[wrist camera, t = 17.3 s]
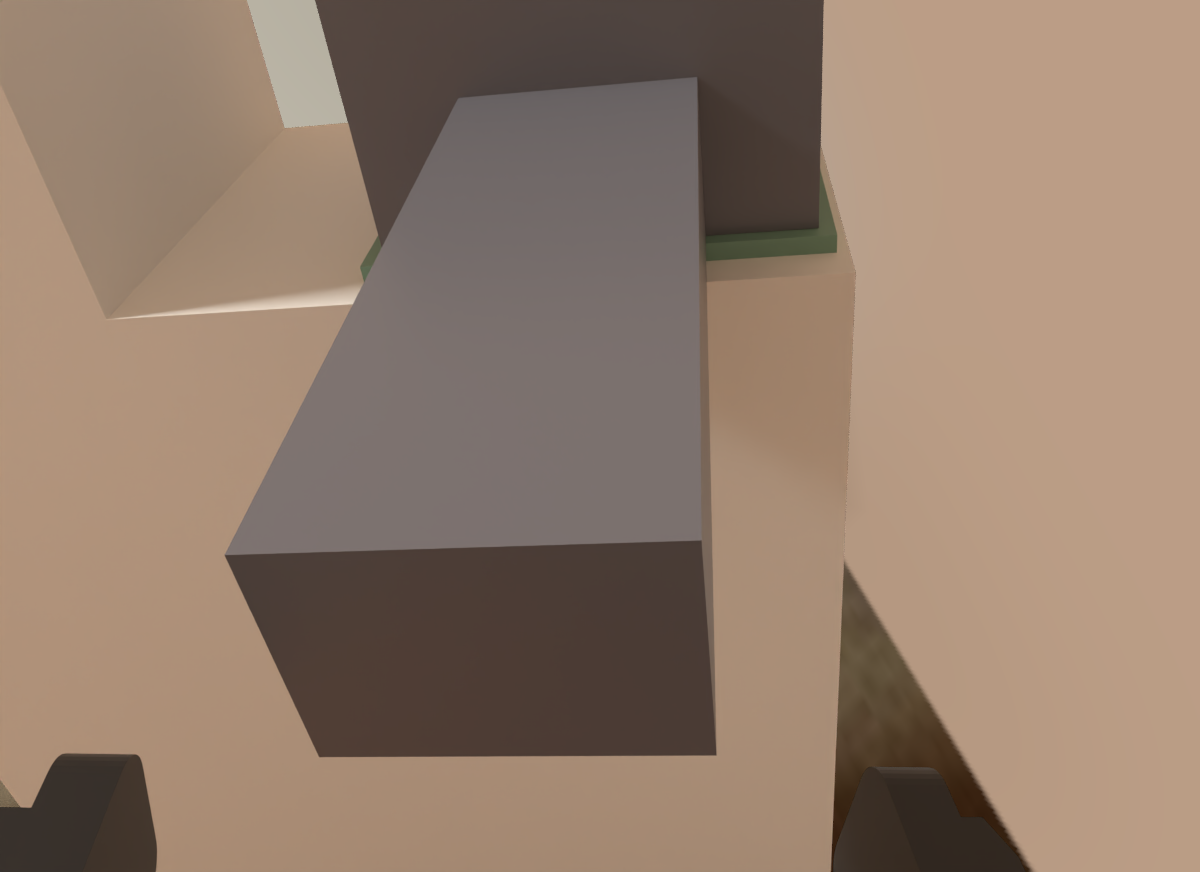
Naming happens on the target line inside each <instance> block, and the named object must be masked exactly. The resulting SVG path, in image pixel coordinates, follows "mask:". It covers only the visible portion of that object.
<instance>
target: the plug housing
mask: <svg viewBox="0 0 1200 872" xmlns="http://www.w3.org/2000/svg"><path fill="white" fill-rule="evenodd" d="M315 1H316V5H317V9H318V13H319V16H320V20H321V24H322V28H323V31H324V35H325V39H326V42H327V46H328V50H329V53H330V57H331V61H332V65H333V68H334V72H335V76H336V79H337V83H338V87H339V91H340V94H341V98H342V102H343V105H344V109H345V113H346V117H347V121H348V124H349V128H350V132H351V135H352V139H353V143H354V147H355V150H356V154H357V158H358V162H359V165H360V169H361V173H362V176H363V180H364V184H365V188H366V191H367V195H368V199H369V202H370V206H371V210H372V214H373V217H374V221H375V225H376V229H377V232H378V236H379V240H380V243H381V247H382V248H381V250H380V252H379V254H378V256H377V258H376V260H375V262H374V264H373V266H372V268H371V270H370V272H369V273H368V275H367V277H366V279H365V281H364V283H363V285H362V287H361V289H360V291H359V293H358V295H357V297H356V299H355V301H354V303H353V305H352V307H351V309H350V311H349V313H348V315H347V316H346V318H345V320H344V322H343V324H342V326H341V328H340V330H339V332H338V334H337V336H336V338H335V340H334V342H333V344H332V346H331V348H330V350H329V352H328V354H327V356H326V358H325V359H324V361H323V363H322V365H321V367H320V369H319V371H318V373H317V375H316V377H315V379H314V381H313V383H312V385H311V387H310V389H309V391H308V393H307V395H306V397H305V399H304V401H303V402H302V404H301V406H300V408H299V410H298V412H297V414H296V416H295V418H294V420H293V422H292V424H291V426H290V428H289V430H288V432H287V434H286V436H285V438H284V440H283V442H282V443H281V445H280V447H279V449H278V451H277V453H276V455H275V457H274V459H273V461H272V463H271V465H270V467H269V469H268V471H267V473H266V475H265V477H264V479H263V481H262V483H261V485H260V486H259V488H258V490H257V492H256V494H255V496H254V498H253V500H252V502H251V504H250V506H249V508H248V510H247V512H246V514H245V516H244V518H243V520H242V522H241V524H240V526H239V528H238V529H237V531H236V533H235V535H234V537H233V539H232V541H231V543H230V545H229V547H228V549H227V551H226V553H225V557H226V560H227V562H228V564H229V566H230V568H231V570H232V572H233V575H234V577H235V579H236V581H237V583H238V585H239V587H240V589H241V592H242V594H243V596H244V598H245V600H246V602H247V604H248V607H249V609H250V611H251V613H252V615H253V617H254V619H255V622H256V624H257V626H258V628H259V630H260V632H261V634H262V636H263V639H264V641H265V643H266V645H267V647H268V649H269V651H270V654H271V656H272V658H273V660H274V662H275V664H276V666H277V668H278V671H279V673H280V675H281V677H282V679H283V681H284V683H285V686H286V688H287V690H288V692H289V694H290V696H291V698H292V700H293V703H294V705H295V707H296V709H297V711H298V713H299V715H300V718H301V720H302V722H303V724H304V726H305V728H306V730H307V732H308V735H309V737H310V739H311V741H312V743H313V745H314V747H315V750H316V752H317V754H318V756H319V757H491V756H717V750H716V703H715V655H714V607H713V560H712V512H711V464H710V417H709V369H708V321H707V274H706V236H710V235H725V234H740V233H754V232H769V231H784V230H798V229H813V228H819V193H820V146H821V142H820V141H821V96H822V50H823V49H822V48H823V47H822V46H823V4H824V0H315Z"/></svg>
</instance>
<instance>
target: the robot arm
mask: <svg viewBox="0 0 1200 872" xmlns="http://www.w3.org/2000/svg"><path fill="white" fill-rule="evenodd" d="M156 865H157V842H156V836H155V830H154V825H153V819H152V814H151V808H150V803H149V797H148V792H147V786H146V781H145V775H144V770H143V765H142V761H141V759H140V757H139V756H138V755H136V754H79V753H64V754H61V755H60V756H58V757H57V758H56V760H55V761H54V762H53V764H52V765H51V767H50V769H49V771H48V773H47V775H46V777H45V779H44V781H43V784H42V786H41V788H40V790H39V792H38V794H37V796H36V799H35V801H34V803H33V805H32V807H31V808H26V807H0V872H156ZM833 872H1026V871H1025V869H1024V867H1023V865H1022V863H1021V861H1020V859H1019V857H1018V856H1017V855H1016V854H1015V853H1014V852H1013V850H1012V849H1011V848H1010V847H1009V846H1008V845H1007V844H1006V843H1005V842H1004V841H1003V839H1002V838H1001V837H1000V836H999V835H998V834H997V833H996V832H995V831H994V829H993V828H992V827H991V826H990V825H989V824H988V823H987V822H986V821H985V820H984V818H983V817H961V816H960V814H959V812H958V810H957V807H956V805H955V803H954V801H953V798H952V796H951V794H950V792H949V789H948V787H947V785H946V783H945V781H944V779H943V778H942V776H941V775H940V774H939V773H938V772H937V771H936V770H935V769H933V768H921V767H869V768H867V769H866V770H865V772H864V773H863V775H862V777H861V780H860V783H859V785H858V788H857V791H856V793H855V796H854V799H853V802H852V804H851V807H850V810H849V812H848V815H847V818H846V820H845V823H844V826H843V829H842V831H841V834H840V837H839V839H838V842H837V845H836V848H835V853H834V861H833Z"/></svg>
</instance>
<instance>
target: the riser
mask: <svg viewBox="0 0 1200 872" xmlns="http://www.w3.org/2000/svg"><path fill="white" fill-rule="evenodd" d="M381 248H382V247H381V243H380V240H379V236H378V232H377V229H376V225H375V221H374V217H373V214H372V210H371V206H370V202H369V199H368V195H367V191H366V188H365V184H364V180H363V176H362V173H361V169H360V165H359V162H358V158H357V154H356V150H355V147H354V143H353V139H352V135H351V132H350V128H349V124H348V123H340V124H329V125H318V126H305V127H295V128H284V125H283V122H282V118H281V115H280V111H279V108H278V105H277V101H276V98H275V94H274V91H273V88H272V84H271V81H270V77H269V74H268V71H267V68H266V64H265V61H264V57H263V54H262V50H261V47H260V44H259V40H258V37H257V33H256V30H255V27H254V23H253V20H252V16H251V13H250V10H249V6H248V3H247V0H0V780H1V782H2V783H3V784H4V786H5V787H6V788H7V790H8V791H9V792H10V794H11V795H12V796H13V798H14V799H15V800H16V802H17V803H18V804H19V806H20V807H26V808H31V807H32V805H33V803H34V801H35V799H36V796H37V794H38V792H39V790H40V788H41V786H42V784H43V781H44V779H45V777H46V775H47V773H48V771H49V769H50V767H51V765H52V764H53V762H54V761H55V760H56V758H57V757H58V756H60V755H61V754H64V753H79V754H136V755H138V756H139V757H140V759H141V761H142V765H143V770H144V775H145V781H146V786H147V792H148V797H149V803H150V808H151V814H152V819H153V825H154V830H155V836H156V842H157V865H156V872H831V855H832V831H833V807H834V783H835V759H836V735H837V711H838V687H839V663H840V639H841V615H842V591H843V567H844V543H845V519H846V494H847V470H848V447H849V423H850V399H851V375H852V350H853V327H854V303H855V302H854V301H855V279H856V272H855V268H854V265H853V261H852V257H851V254H850V250H849V246H848V243H847V239H846V235H845V232H844V228H843V224H842V221H841V217H840V214H839V210H838V207H837V203H836V199H835V195H834V192H833V188H832V185H831V181H830V177H829V174H828V170H827V166H826V163H825V159H824V155H823V152H822V148H821V146H820V193H819V228H813V229H798V230H784V231H769V232H754V233H740V234H725V235H710V236H706V274H707V321H708V369H709V417H710V464H711V512H712V560H713V607H714V655H715V703H716V750H717V756H491V757H319V756H318V754H317V752H316V750H315V747H314V745H313V743H312V741H311V739H310V737H309V735H308V732H307V730H306V728H305V726H304V724H303V722H302V720H301V718H300V715H299V713H298V711H297V709H296V707H295V705H294V703H293V700H292V698H291V696H290V694H289V692H288V690H287V688H286V686H285V683H284V681H283V679H282V677H281V675H280V673H279V671H278V668H277V666H276V664H275V662H274V660H273V658H272V656H271V654H270V651H269V649H268V647H267V645H266V643H265V641H264V639H263V636H262V634H261V632H260V630H259V628H258V626H257V624H256V622H255V619H254V617H253V615H252V613H251V611H250V609H249V607H248V604H247V602H246V600H245V598H244V596H243V594H242V592H241V589H240V587H239V585H238V583H237V581H236V579H235V577H234V575H233V572H232V570H231V568H230V566H229V564H228V562H227V560H226V557H225V553H226V551H227V549H228V547H229V545H230V543H231V541H232V539H233V537H234V535H235V533H236V531H237V529H238V528H239V526H240V524H241V522H242V520H243V518H244V516H245V514H246V512H247V510H248V508H249V506H250V504H251V502H252V500H253V498H254V496H255V494H256V492H257V490H258V488H259V486H260V485H261V483H262V481H263V479H264V477H265V475H266V473H267V471H268V469H269V467H270V465H271V463H272V461H273V459H274V457H275V455H276V453H277V451H278V449H279V447H280V445H281V443H282V442H283V440H284V438H285V436H286V434H287V432H288V430H289V428H290V426H291V424H292V422H293V420H294V418H295V416H296V414H297V412H298V410H299V408H300V406H301V404H302V402H303V401H304V399H305V397H306V395H307V393H308V391H309V389H310V387H311V385H312V383H313V381H314V379H315V377H316V375H317V373H318V371H319V369H320V367H321V365H322V363H323V361H324V359H325V358H326V356H327V354H328V352H329V350H330V348H331V346H332V344H333V342H334V340H335V338H336V336H337V334H338V332H339V330H340V328H341V326H342V324H343V322H344V320H345V318H346V316H347V315H348V313H349V311H350V309H351V307H352V305H353V303H354V301H355V299H356V297H357V295H358V293H359V291H360V289H361V287H362V285H363V283H364V281H365V279H366V277H367V275H368V273H369V272H370V270H371V268H372V266H373V264H374V262H375V260H376V258H377V256H378V254H379V252H380V250H381Z"/></svg>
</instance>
